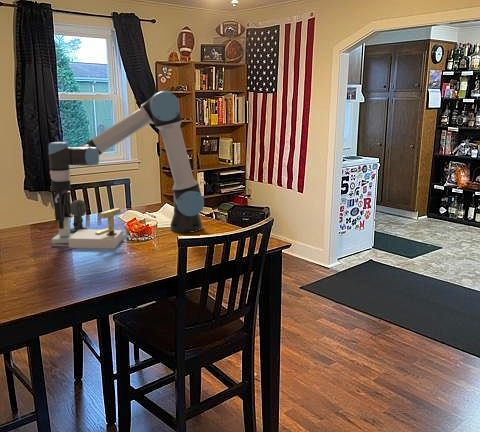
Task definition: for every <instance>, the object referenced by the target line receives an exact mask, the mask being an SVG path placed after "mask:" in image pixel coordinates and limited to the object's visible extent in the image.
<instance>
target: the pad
mask: <svg viewBox="0 0 480 432" xmlns="http://www.w3.org/2000/svg"><path fill="white" fill-rule="evenodd" d="M51 246H52V247H69V243H52V245H51Z"/></svg>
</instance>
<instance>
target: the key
mask: <svg viewBox="0 0 480 432" xmlns="http://www.w3.org/2000/svg"><path fill="white" fill-rule="evenodd" d="M121 211H122V210H121V208H118V207H116V208H112V209H108V210H105V211H102V212H99V218H100V219H103V220H105V219H107V226H108V227H107V228H105V229H100V230H101V231H98V232H95V235H101V234H104V233H107V232H109V234H110V235H112V234H114V230H115V219H114V217H115V216H118V215H120V214H122V213H121Z"/></svg>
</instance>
